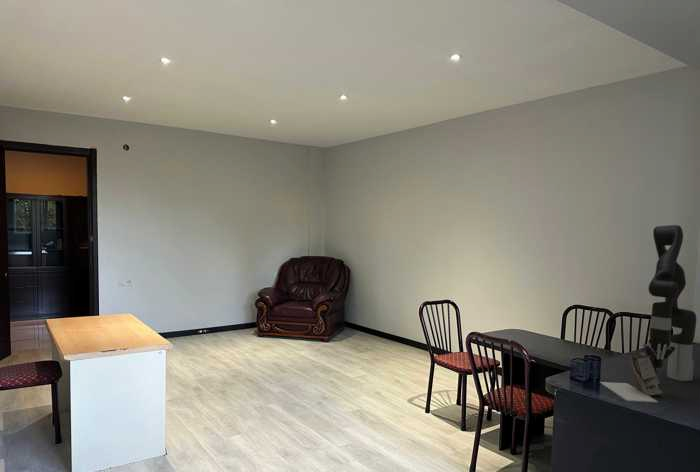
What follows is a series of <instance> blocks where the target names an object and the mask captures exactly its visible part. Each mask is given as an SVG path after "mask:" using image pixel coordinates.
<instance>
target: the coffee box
mask: <svg viewBox="0 0 700 472" xmlns="http://www.w3.org/2000/svg"><path fill="white" fill-rule="evenodd" d="M628 356H629V359H630V362H631V366H632V369H633V372H634V376H635V380H636V383H637V386H638V390H639V391H641V392H643V393H644V394H646V395H648V396H649V397H651V396H654V395H659V394H660V395H661V394H663V389H662V387H661V386H662V385H661V383H660V379H659V375H658V371H657V368H656V367H655V364H654V358H653V356H651V355H650V354H648V353H647V351H644V350H642V351H636V352H633V353H629V354H628Z"/></svg>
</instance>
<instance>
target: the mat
mask: <svg viewBox="0 0 700 472" xmlns="http://www.w3.org/2000/svg"><path fill="white" fill-rule="evenodd" d="M599 382H600V383H601V384H602V386H603V385H604V386H603V387H604V388H606V387H607V388H606V389H608V390H609V389H610V391H611V392H612V391H613V392H612V393H613V394H615V393H616V394H615V395H617V396H618V397H620V398H621V399H623V400H624V401H626V402H636V403H637V402H638V403H655V404H656V403H659V401H658V400H656V399H654V398H652V397H651V396H648V395H646V394H644V393H643V392H642V391H641V390H639V388H638V389H637V388H636V387H635V386H632V385H631V384H629V383H626V382H611V381H610V382H607V381H599ZM600 383H599V384H600ZM601 384H600V385H601Z"/></svg>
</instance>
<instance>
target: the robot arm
mask: <svg viewBox="0 0 700 472" xmlns="http://www.w3.org/2000/svg"><path fill="white" fill-rule="evenodd" d="M652 236H653V240H654V244H655V248H656V252H657V256H658V257H657V258H658V260H657V262H656V267H655V273H654V276H653V278H652V280H651V281H650V283H649V285H648V293H649V294H650V295H651V296H653V297H657V298H664V301H655V302H653V304H652V307H651V317H650V326H649V340H648V342H647V343H646V344H643V345H642V347H643V348H644V350H645V352H646V353H648V354H650V355H651V356H653V360H654V364H655V367H656V369H661V368H662V367H663V360H664V359H668V360H667V371H666V377H667V378H669V379H672V380H675V381H680V382H691V381H693V377H694V363H695V362H694V360H693V345H694V344H693V343H694V339H695V334H696V326H697V314H696V312H695V311H693V310H690V309H689V310H688V309H684V308H679V306H678V299H679V297H680V295H681V294H682V292H683V291H684V289H685V287H686V285H687V284H686V283H687V280H686V274H685V271H684V268H683V267H682V265H680V264H679V262H677V260H678V257H679V255H680V252H681V248H682V244H683V241H684V233H683V229H682V226H680V225H679V224H678V225H677V224H672V225H671V224H670V225H660V226H655V227H654V228H653V235H652ZM666 246H670V247H669V248H668V249H667V247H666ZM672 328H677V329H681V332H680V333H677V334H676V333H675V334H672Z"/></svg>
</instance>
